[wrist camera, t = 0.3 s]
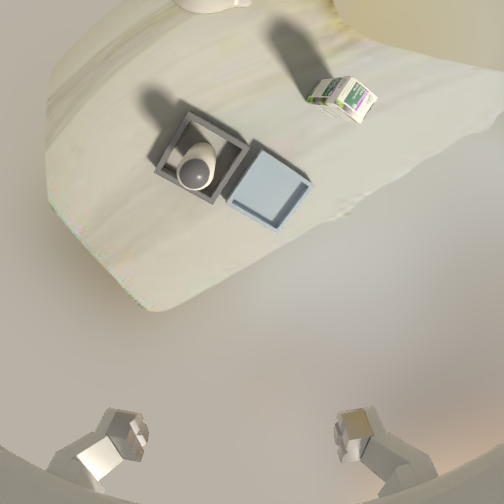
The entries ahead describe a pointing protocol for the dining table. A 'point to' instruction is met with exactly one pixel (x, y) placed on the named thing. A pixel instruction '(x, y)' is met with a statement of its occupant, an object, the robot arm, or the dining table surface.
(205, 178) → the canister
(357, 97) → the syrup box
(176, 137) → the frame
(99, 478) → the robot arm
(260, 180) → the tray
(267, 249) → the dining table surface
